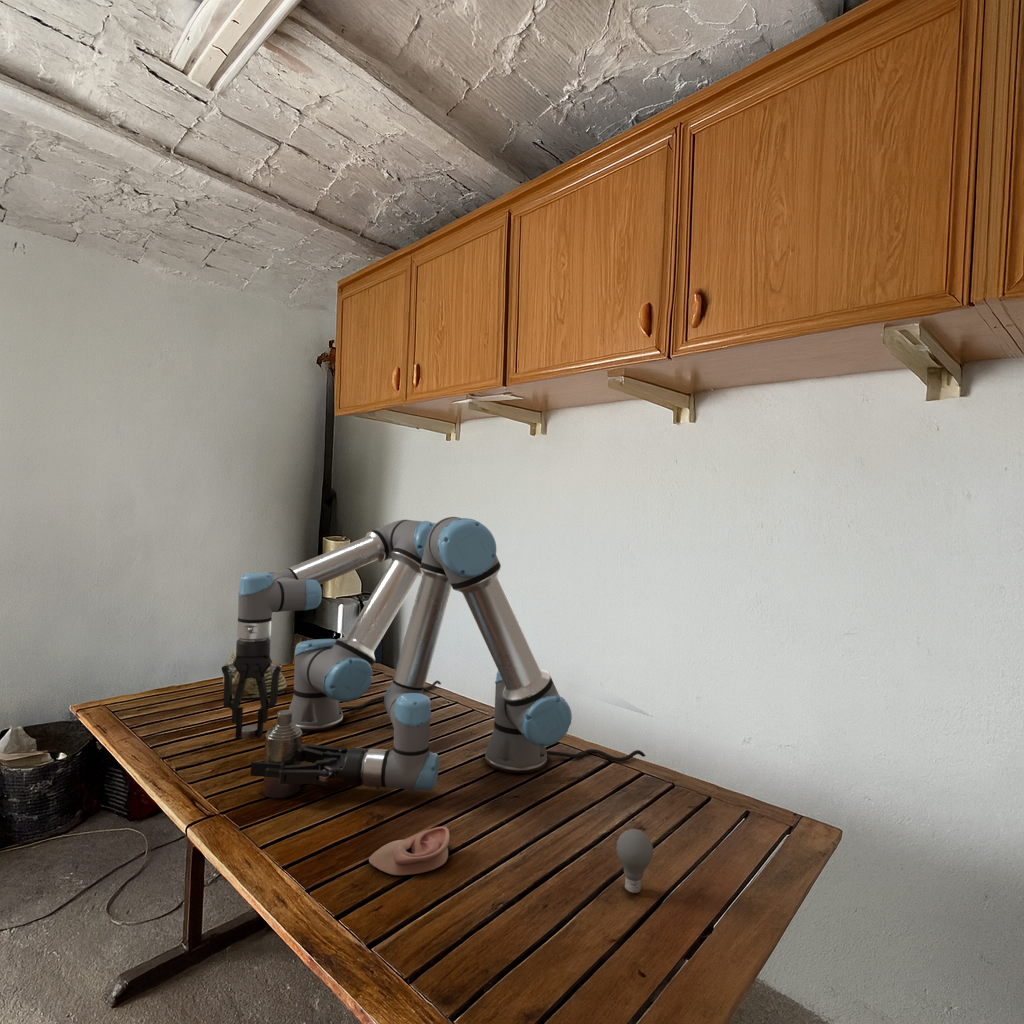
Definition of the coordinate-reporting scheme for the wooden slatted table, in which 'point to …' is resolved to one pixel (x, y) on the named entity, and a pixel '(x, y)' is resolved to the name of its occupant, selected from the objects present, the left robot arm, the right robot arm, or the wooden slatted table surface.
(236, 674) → the fossil
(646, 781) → the wooden slatted table surface
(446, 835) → the anatomical model
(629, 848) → the light bulb
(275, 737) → the bottle
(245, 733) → the cap
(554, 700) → the right robot arm
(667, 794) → the wooden slatted table surface
